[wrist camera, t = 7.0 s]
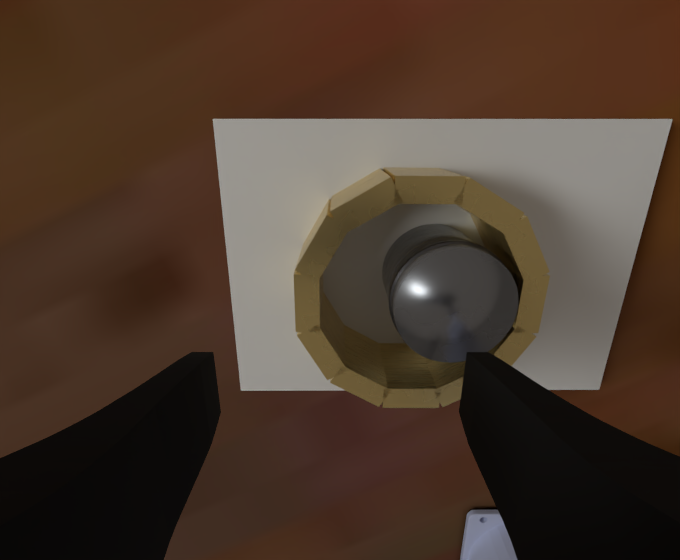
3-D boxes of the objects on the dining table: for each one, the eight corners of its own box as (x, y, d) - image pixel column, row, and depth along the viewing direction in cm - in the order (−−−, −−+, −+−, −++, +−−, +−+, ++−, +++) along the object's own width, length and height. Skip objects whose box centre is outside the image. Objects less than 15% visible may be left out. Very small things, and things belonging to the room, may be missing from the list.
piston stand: (655, 120, 18) (783, 113, 13) (588, 379, 23) (661, 450, 18) (219, 119, 18) (171, 113, 13) (244, 380, 23) (217, 451, 18)
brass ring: (521, 168, 18) (570, 176, 14) (490, 359, 21) (522, 408, 17) (300, 166, 18) (289, 175, 14) (305, 359, 21) (298, 407, 17)
